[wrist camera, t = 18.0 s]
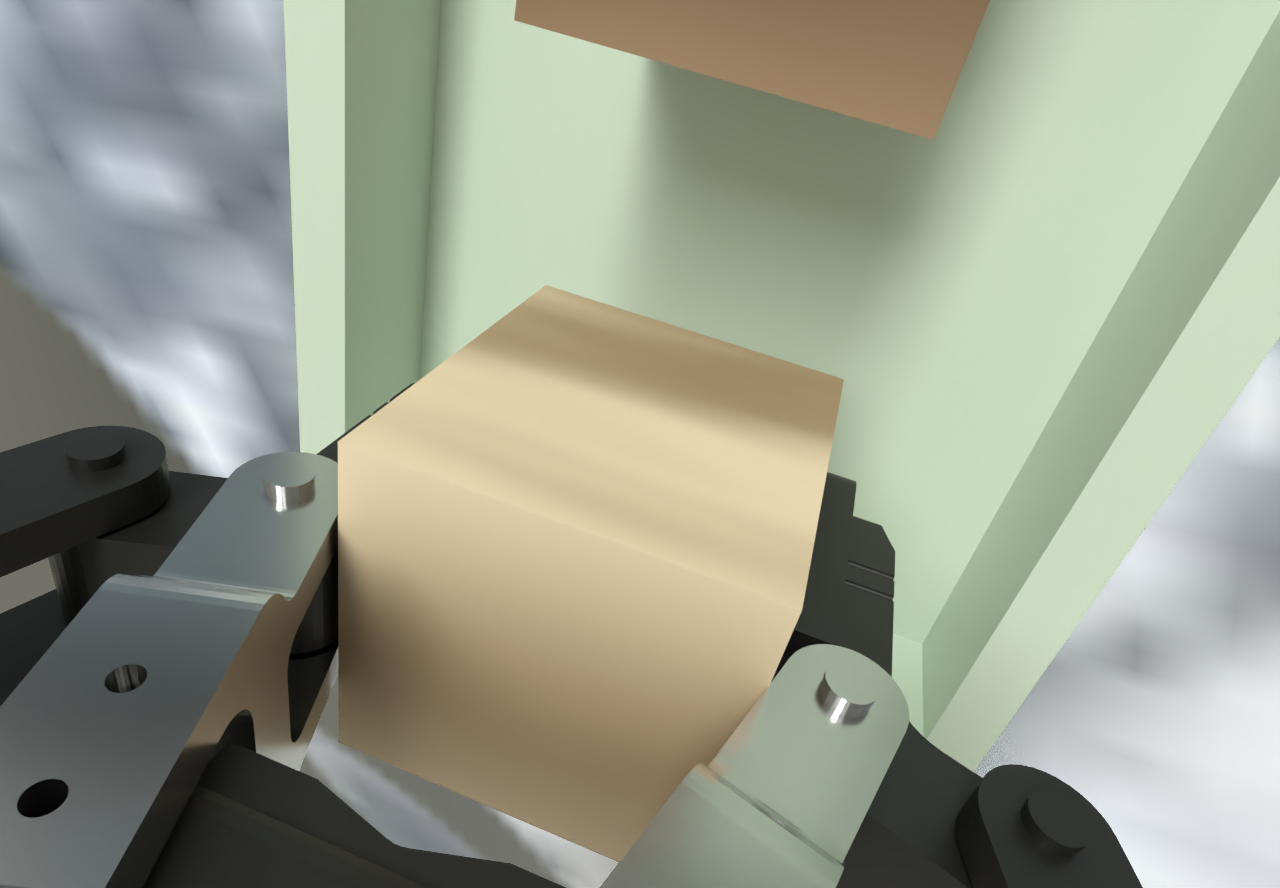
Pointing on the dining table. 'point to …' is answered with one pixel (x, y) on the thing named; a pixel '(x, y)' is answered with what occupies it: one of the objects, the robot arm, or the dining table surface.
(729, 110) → the cart
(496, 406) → the beech part
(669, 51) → the walnut part
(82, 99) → the dining table surface
